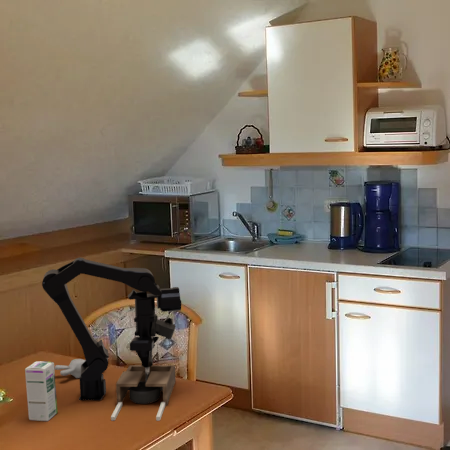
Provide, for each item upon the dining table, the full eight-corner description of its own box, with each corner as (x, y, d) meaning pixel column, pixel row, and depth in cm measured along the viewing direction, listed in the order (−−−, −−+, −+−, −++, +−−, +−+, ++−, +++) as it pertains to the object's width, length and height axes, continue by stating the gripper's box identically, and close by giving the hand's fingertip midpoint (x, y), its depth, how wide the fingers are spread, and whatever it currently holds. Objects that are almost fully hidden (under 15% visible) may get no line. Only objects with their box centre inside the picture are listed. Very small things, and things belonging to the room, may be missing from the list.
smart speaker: (140, 391, 201) (139, 378, 201) (166, 396, 197) (166, 382, 197) (123, 402, 193) (122, 388, 193) (150, 407, 189) (149, 393, 189)
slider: (128, 392, 199) (126, 355, 198) (130, 388, 202) (129, 351, 201) (166, 392, 199) (164, 355, 197) (167, 388, 202) (166, 351, 200)
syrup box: (48, 421, 181) (45, 368, 179) (27, 420, 182) (24, 367, 180) (57, 413, 186) (55, 361, 184) (37, 411, 188) (34, 360, 186)
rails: (111, 420, 181) (110, 416, 181) (118, 405, 191) (118, 402, 190) (160, 420, 180) (159, 416, 180) (165, 405, 190) (165, 402, 190)
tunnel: (117, 405, 191) (116, 383, 190) (129, 381, 209) (129, 361, 209) (167, 405, 190) (166, 383, 189) (175, 381, 209) (174, 361, 208)
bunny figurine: (109, 362, 215) (63, 366, 207) (108, 378, 215) (62, 383, 207) (97, 355, 223) (52, 358, 215) (96, 370, 223) (51, 374, 215)
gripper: (168, 321, 188) (170, 376, 190) (177, 304, 206) (178, 354, 208) (128, 321, 188) (130, 376, 190) (140, 304, 207) (142, 354, 209)
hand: (147, 365), depth 200 cm, fingers closed on slider, 3 cm apart
